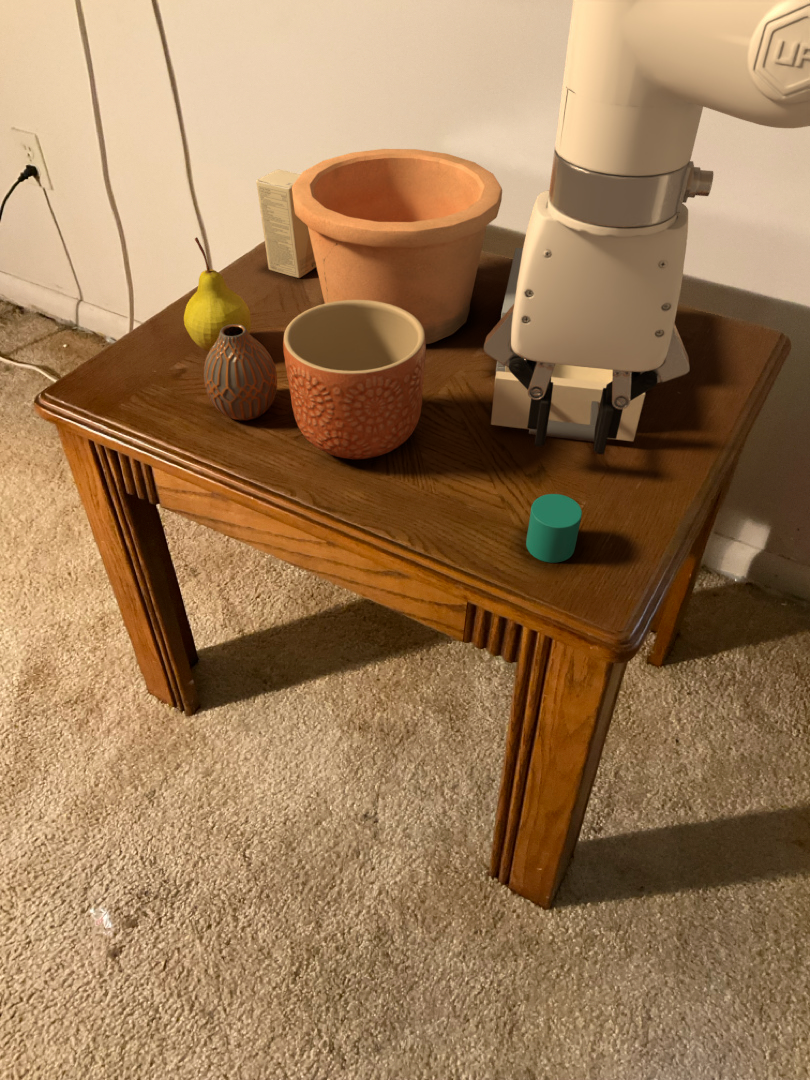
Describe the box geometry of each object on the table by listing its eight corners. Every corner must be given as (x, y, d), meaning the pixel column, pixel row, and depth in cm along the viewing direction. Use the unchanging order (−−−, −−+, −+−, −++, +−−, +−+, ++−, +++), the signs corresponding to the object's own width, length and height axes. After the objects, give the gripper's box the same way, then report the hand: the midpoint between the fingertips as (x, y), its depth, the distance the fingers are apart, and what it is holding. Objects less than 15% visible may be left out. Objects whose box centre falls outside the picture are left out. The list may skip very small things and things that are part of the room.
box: (320, 266, 103) (313, 176, 95) (299, 279, 101) (290, 188, 93) (286, 255, 105) (277, 167, 97) (265, 269, 103) (254, 178, 95)
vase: (245, 438, 78) (232, 359, 72) (195, 412, 81) (179, 333, 75) (295, 405, 82) (286, 326, 76) (245, 381, 85) (233, 304, 79)
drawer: (633, 477, 73) (646, 429, 69) (484, 458, 75) (488, 410, 71) (632, 363, 86) (643, 318, 82) (505, 350, 88) (509, 305, 84)
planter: (388, 492, 73) (387, 388, 65) (268, 454, 76) (254, 351, 69) (443, 417, 81) (448, 316, 73) (333, 386, 84) (326, 287, 77)
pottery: (497, 362, 87) (510, 231, 77) (292, 360, 88) (277, 229, 78) (487, 268, 103) (496, 148, 93) (312, 266, 103) (302, 146, 93)
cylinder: (575, 532, 69) (583, 496, 66) (573, 566, 66) (581, 530, 63) (528, 526, 70) (533, 490, 67) (524, 559, 67) (529, 523, 64)
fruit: (264, 355, 88) (250, 248, 80) (205, 373, 86) (183, 265, 77) (239, 327, 93) (223, 223, 84) (181, 343, 90) (159, 237, 82)
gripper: (757, 172, 49) (683, 422, 62) (480, 151, 51) (464, 397, 64) (773, 225, 44) (688, 486, 56) (464, 199, 46) (450, 456, 59)
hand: (570, 437), depth 60 cm, fingers open, 3 cm apart
